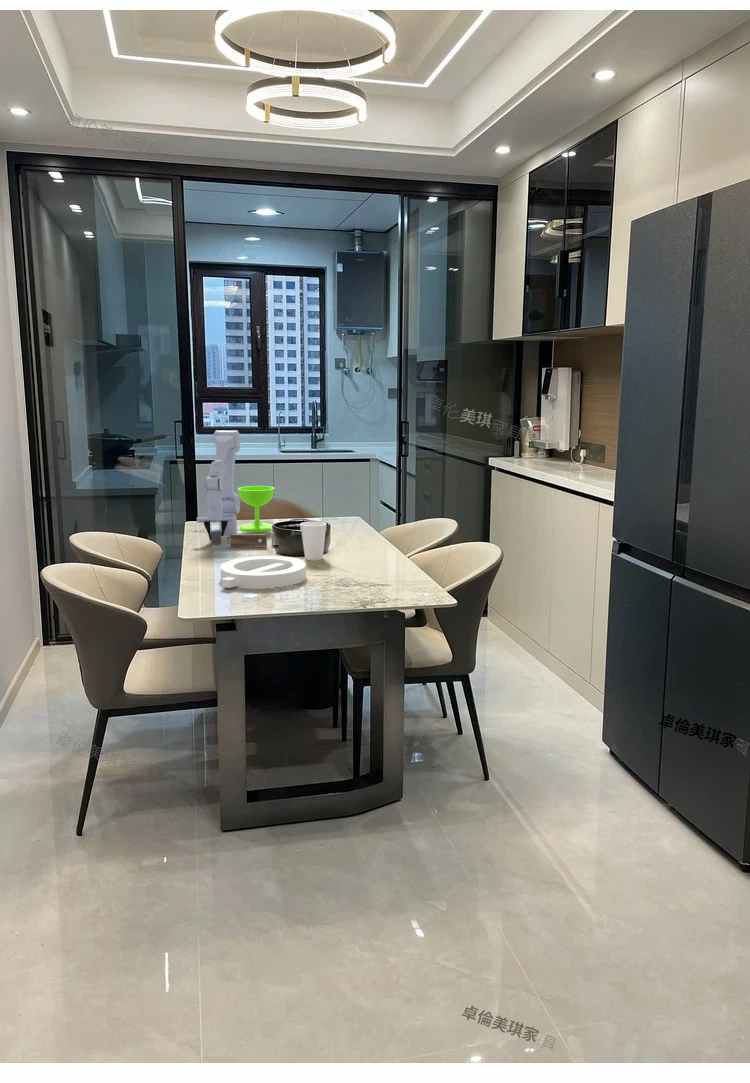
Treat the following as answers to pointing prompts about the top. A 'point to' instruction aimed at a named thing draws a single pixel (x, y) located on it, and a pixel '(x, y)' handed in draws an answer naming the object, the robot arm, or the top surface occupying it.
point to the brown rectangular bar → (248, 540)
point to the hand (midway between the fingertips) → (216, 539)
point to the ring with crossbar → (262, 572)
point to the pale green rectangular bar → (224, 541)
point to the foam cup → (313, 539)
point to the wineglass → (256, 505)
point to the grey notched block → (215, 536)
